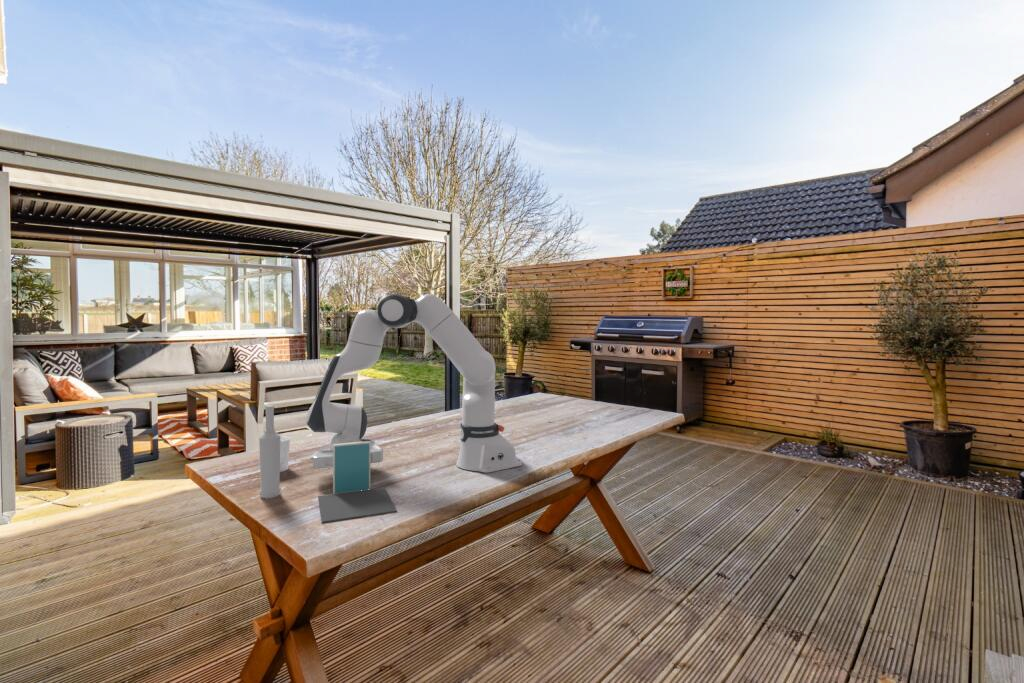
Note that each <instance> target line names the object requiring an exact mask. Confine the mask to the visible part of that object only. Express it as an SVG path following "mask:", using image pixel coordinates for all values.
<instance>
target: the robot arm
mask: <svg viewBox="0 0 1024 683" xmlns="http://www.w3.org/2000/svg"><path fill="white" fill-rule="evenodd" d="M354 317H355V318H354V320H353V322H352V324H351V328H350V331H349V333H348V338H347V339H348V340H347V343H346V345H345V347H344V348H343V349H342V350H341V351H340V352H339V353H336V354H335V355H334V356H333V357H332V359H331V361H330V362H329V365H328V367H327V370H326V372H325V374H324V377H323V378H322V381H321V384H320V386H319V388H318V391H317V393H316V396H315V398H314V400H313V402H312V404H311V406H310V407H309V409H308V411H307V415H306V426H307V427H308V428H309V429H310V430H311V431H313V432H314V433H332V434H331V437H330V438H329V443H328V444H329V445H328V446H329V449H324V450H317V451H314V453H313V454H312V455H311V456H310V460H312V468H313V469H314V470H319V469H320V470H321V469H328V468H329V469H330V468H333V444H340V443H351V442H363V441H370V442H371V447H370V464H375V463H382V462H383V461H384V450H383V448H382V447H381V446H380V445H379V444H378V443H376V441H375V440H374V439H365V438H363V437H365V434H366V431H367V426H368V415H367V412H366V411H365V409H364V407H363V406H362V405H355V404H350V403H347V404H346V403H340V402H339V403H338V402H331V401H330V398H331V396H332V394H333V391H334V389H335V386H336V383H337V381H338V380H339V378H340V377H342V376H344V375H345V374H348V373H353V372H358V371H363V370H366V369H369V368H371V367H372V366H374V365H376V364H377V362H378V360H379V358H380V356H381V352H382V349H383V346H384V345H383V344H384V339H385V336H386V334H387V332H388V331H389V330H390V329H401V328H402V329H403V328H407V327H409V326H411V325H412V324H413V323H417V324H418V325H420V326H421V327H422V329H424V330H425V332H426V333H427V334H428V335H429V336H430V337H431V339H433V341H434V342H435V344H437V346H438V347H439V348H440V349H441V350H442V352H443V353H444V354H445V355H446V356H447V357H448V359H449V360H450V362H451V363H452V364H453V366H454V368H456V369H457V371H458V372H459V374H460V375H461V376H462V377H463V380H462V396H461V398H462V402H461V423H460V429H459V438H460V447H459V453H458V457H457V461H456V466H457V467H458V468H459V469H463V470H467V471H473V472H474V471H475V472H481V473H492V472H498V471H502V470H508V469H511V468H516V467H521V466H523V460H522V458H520V456H517V454H516V448H515V446H514V445H513V443H511V442H510V440H508V439H507V438H506V437H504V436H503V435H502V434H500V432H501V433H503V432H504V431H505V427H504V426H503V425H501V424H497V423H496V422H495V414H496V413H495V412H496V411H495V410H496V408H495V407H496V406H495V405H496V402H495V401H496V395H495V394H496V393H495V392H496V384H495V383H496V370H497V369H496V361H495V358H494V357H493V355H492V354H491V353H490V352H488V351H487V350H486V349H485V348H484V347H483V346H482V345H481V343H480V342H479V341H478V340H477V338H475V336H474V335H473V333H472V332H471V330H469V329H468V327H467V326H466V325H465V324H464V323H463V321H462V320H461V319H460V318H459V317H458V315H456V313H455V312H454V311H453V310H452V309H451V307H449V306H448V304H446V303H445V302H444V301H443V300H442V299H441V298H440V297H438V296H436V295H435V294H433V293H425V294H423V295H421V296H420V297H418V298H417V299H413V298H410V297H408V296H405V295H403V294H399V293H390V294H387V295H385V296H383V298H382V299H380V301H379V302H378V305H377V309H376V310H374V309H369V308H368V309H363V310H360V311H359V312H357V313H356V316H354Z"/></svg>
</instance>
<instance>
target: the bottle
mask: <svg viewBox="0 0 1024 683" xmlns="http://www.w3.org/2000/svg"><path fill="white" fill-rule="evenodd" d="M274 412H275V406H274V404H273V405H272V404H271V405H270V404H267V405H265V430H264V431H263V433H262V434H261V435H260V436H259V438H258V439H259V442H258V443H259V469H260V470H259V472H260V473H259V474H260V476H259V478H260V480H259V481H260V489H259V496H260V498H261V499H264V498H265V500H267V499H268V498H269V499H273V497H274V498H277V497H279V496H280V495H281V487H280V479H281V477H280V476H281V475H280V474H281V472H280V436H281V435H280V434H279V433H277V432H276V429H275V425H274V424H275V421H274V420H275V413H274ZM278 495H279V496H278ZM276 496H277V497H276Z"/></svg>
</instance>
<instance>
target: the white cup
mask: <svg viewBox="0 0 1024 683" xmlns="http://www.w3.org/2000/svg"><path fill="white" fill-rule="evenodd" d="M290 443H291V437H289V436H286V435H283V436H282V435H280V473H283V472H285V471H287V470H289V460H290V451H291V450H290V446H291V444H290Z"/></svg>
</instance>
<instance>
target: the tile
mask: <svg viewBox="0 0 1024 683" xmlns="http://www.w3.org/2000/svg"><path fill="white" fill-rule="evenodd" d="M370 447H371V442H370V441H363V442H351V443H340V444H333V467H332V494H339V493H347V492H354V491H361V490H368V489H371V463H370Z"/></svg>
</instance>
